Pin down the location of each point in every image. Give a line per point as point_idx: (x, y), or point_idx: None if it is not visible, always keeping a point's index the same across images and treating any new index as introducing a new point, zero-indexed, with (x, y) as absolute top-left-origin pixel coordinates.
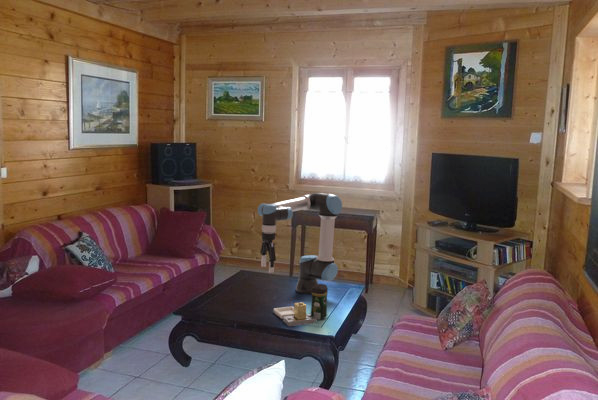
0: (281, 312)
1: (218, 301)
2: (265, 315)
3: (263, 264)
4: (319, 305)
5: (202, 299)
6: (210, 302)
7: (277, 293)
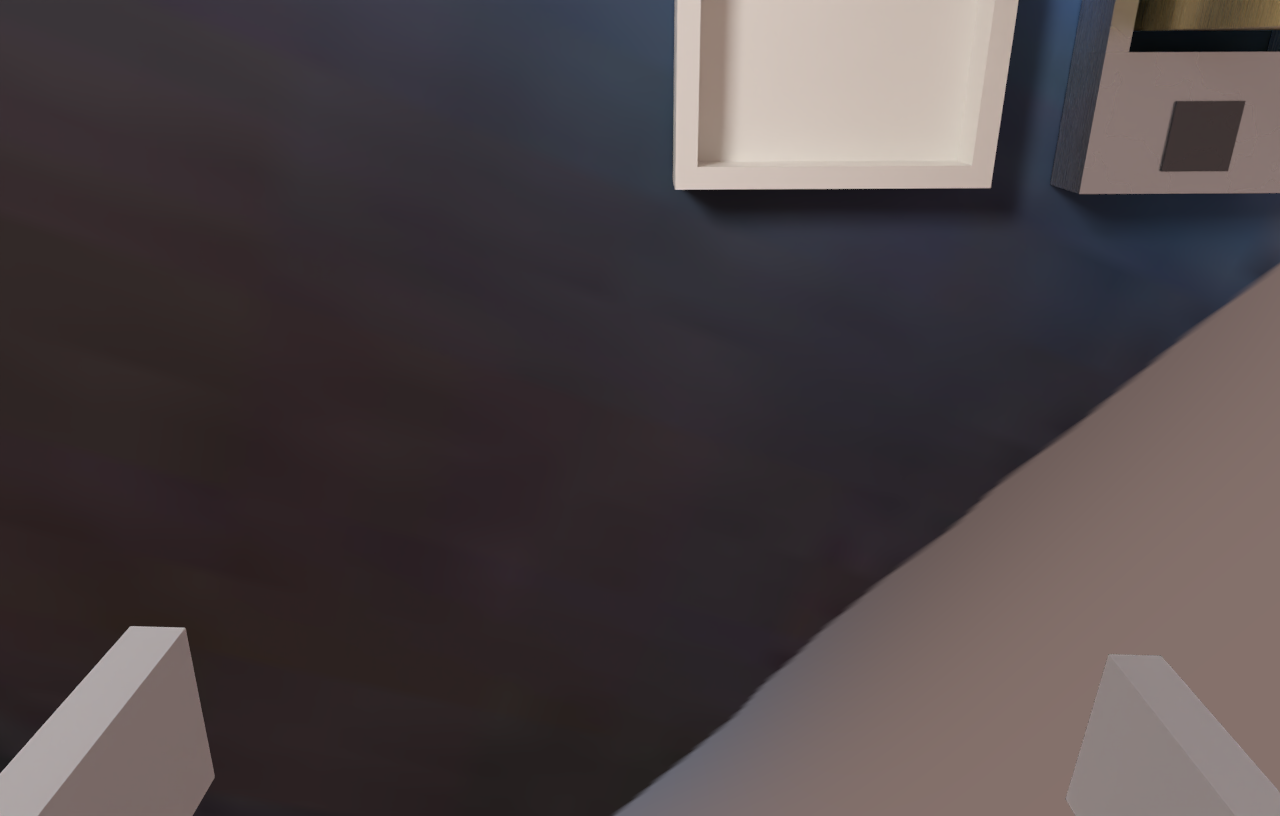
0: (768, 88)
1: None
2: (756, 332)
3: (155, 789)
4: None
5: None
6: None
7: None
